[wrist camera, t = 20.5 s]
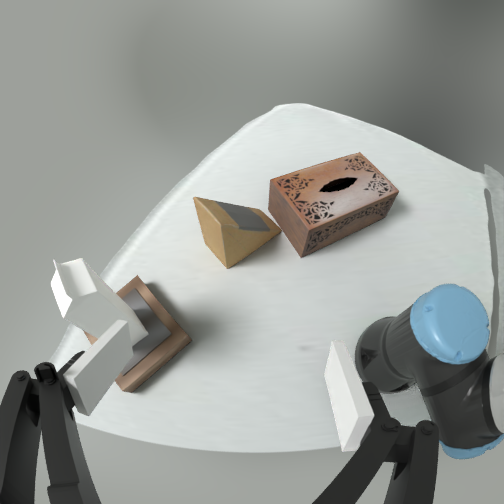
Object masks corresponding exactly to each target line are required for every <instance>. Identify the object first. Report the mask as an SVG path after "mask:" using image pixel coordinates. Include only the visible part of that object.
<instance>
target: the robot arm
mask: <svg viewBox="0 0 504 504" xmlns="http://www.w3.org/2000/svg"><path fill="white" fill-rule="evenodd" d="M488 325H489V319H488V316H487V313H486V310H485V308H484V306H483V305H482V303H481V302H480V300H479V299H478V298H477V297H476V295H474V294H473V293H472V292H471V291H470V290H468V289H466V288H465V287H459V286H458V285H456V284H443V285H439V286H437V287H435V288H433V289H432V290H431V291H429V292H428V293H425V294H423V295H422V296H420V297H419V298H418V299H417V300H416V302H415V303H414V304H413V305H412V306H410V307H409V308H408V309H407V310H405V311H404V312H403V313H401V314H400V315H398V316H397V317H385V318H382V319H380V320H378V321H376V322H374V323H373V324H372V325H370V326H369V327H368V328H367V329H366V330H365V331H364V332H363V333H362V335H361V336H360V338H359V340H358V343H357V346H356V350H355V364H356V368H357V371H358V373H357V371H356V368H355V366H354V364H353V361H352V359H351V356H350V354H349V352H348V349H347V347H346V345H345V342H344V341H335V340H332V343H331V347H330V352H329V356H328V361H327V365H326V369H325V373H324V376H325V380H326V384H327V388H328V392H329V396H330V401H331V405H332V409H333V413H334V417H335V422H336V426H337V430H338V435H339V439H340V444H341V448H342V451H343V452H344V451H354V450H357V449H358V447H359V445H361V446H360V447H359V449H358V450H357V451H356V453H355V454H354V455H353V457H352V458H351V459H350V461H349V462H348V463H347V464H346V466H345V467H344V468H343V469H342V471H341V472H340V473H339V474H338V475H337V477H336V478H335V479H334V480H333V481H332V483H331V484H330V485H329V486H328V487H327V488H326V489H325V490H324V491H323V493H322V494H321V495H320V496H319V497H318V498H317V499H316V500H315V501H314V502H313V503H312V504H355V503H356V502H357V500H358V499H359V497H360V496H361V495H362V493H363V492H364V490H365V489H366V488H367V486H368V485H369V483H370V482H371V480H372V479H373V477H374V476H375V474H376V473H377V471H378V470H379V468H380V466H381V465H382V463H383V462H395V464H394V468H393V472H392V476H391V480H390V484H389V487H388V491H387V495H386V498H385V501H384V504H432V503H433V498H434V491H435V483H436V475H437V464H438V463H437V462H438V447H439V442H440V444H441V445H442V448H443V450H444V452H445V453H446V454H447V455H448V456H450V457H452V458H455V459H469V458H474V457H476V456H480V455H482V454H484V453H485V451H486V450H488V449H489V450H491V449H492V448H494V447H495V446H496V445H498V444H499V443H500V442H501V441H502V440H503V438H504V353H503V354H500V355H498V356H496V357H494V358H493V359H489V356H488V354H487V352H486V349H485V347H486V345H487V343H488V340H489V334H490V331H489V329H488V328H487V327H488ZM132 356H133V349H132V344H131V338H130V332H129V325H128V321H124V320H119V319H118V320H117V321H116V322H115V323H114V324H113V325H112V326H111V327H110V328H109V329H108V330H107V331H106V332H105V333H104V334H103V335H102V336H101V337H100V338H99V339H98V340H97V341H96V342H95V343H94V344H93V345H92V346H91V347H90V348H89V349H88V350H87V351H86V352H85V351H81V352H79V353H77V354H75V355H74V356H73V357H72V358H71V360H69V361H68V362H67V363H66V364H65V365H64V366H63V367H62V368H61V369H60V370H59V371H58V372H56V369H55V367H54V365H53V364H52V363H49V362H44V363H40V364H39V365H37V366H36V367H35V369H34V371H35V374H36V377H37V379H31V377H30V375H29V373H28V372H27V371H24V370H23V371H17V372H16V373H14V374H13V376H12V377H11V380H10V382H9V385H8V387H7V390H6V392H5V395H4V397H3V400H2V403H1V405H0V504H34V494H35V476H36V465H37V456H38V449H39V442H40V435H41V430H42V438H43V445H44V452H45V459H46V464H47V469H48V474H49V479H50V484H51V485H50V486H48V487H47V490H48V496H49V499H50V503H51V504H101V502H100V499H99V497H98V494H97V492H96V489H95V487H94V484H93V481H92V479H91V476H90V472H89V469H88V466H87V463H86V460H85V457H84V453H83V450H82V446H81V442H80V438H79V434H78V430H77V426H76V422H75V417H74V412H73V410H72V408H73V407H74V405H75V406H76V408H77V410H78V412H79V413H82V414H84V415H87V416H89V415H90V414H91V413H92V411H93V410H94V408H95V407H96V406H97V404H98V403H99V401H100V400H101V399H102V397H103V396H104V394H105V393H106V392H107V390H108V389H109V388H110V386H111V385H112V383H113V382H114V381H115V379H116V378H117V377H118V375H119V374H120V373H121V371H122V370H123V369H124V367H125V366H126V364H127V363H128V362H129V360H130V359H131V358H132ZM358 374H359V375H358ZM359 376H360V378H361V379H362V381H363V382H361V380H360V378H359ZM415 382H417V384H418V387H419V389H420V391H421V394H422V397H423V399H424V402H425V404H426V407H427V409H428V412H429V415H430V417H431V420H432V421H429V420H423V421H420V422H419V423H418V424H417V425H416V427H410V426H402V425H401V424H400V423H399V421H398V420H396V419H394V418H391V417H390V415H389V412H388V410H387V408H386V406H385V403H384V401H383V400H382V397H381V395H380V393H384V394H391V393H397V392H401V391H403V390H405V389H407V388H409V387H410V386H412V385H413V384H414V383H415Z"/></svg>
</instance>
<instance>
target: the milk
mask: <svg viewBox="0 0 504 504" xmlns="http://www.w3.org/2000/svg"><path fill="white" fill-rule="evenodd" d="M53 261H54V264H55V267H56V272H55V274H54V277H53V279H52V282H51V286H52V289H53V292H54V295H55V298H56V300H57V303H58V306H59V308H60V311H61V313H62V316H63V318H64V319H66V320H67V321H69V322H70V323H72V324H74V325H75V326H77V327H79V328H80V329H82V330H84V331H85V332H87V333H89V334H91V335H92V336H94V337H96V338H98V339H99V338H100V337H101V336H102V335H103V334H104V333H105V332H106V331H107V330H108V329H109V328H110V327H111V326H112V325H113V324H114V323H115V322H116V321H117V320H118V319H119V320H124V321H128V325H129V332H130V338H131V344H132V346H134V345H135V344H136V343H138V342H139V341H140V340H142V339H143V338H144V337H146V336H147V335H148V332H147V331H146V329H145V328H144V326H143V325H142V323H141V322H140V320H139V318H138V317H137V315H136V314H135V312H134V311H133V309H132V308H131V307H130V306H128V305H127V304H126V303H125V302H124V301H123V300H122V299H121V298H120V297H119V296H118V295H117V294H116V293H115V292H114V291H113V290H112V289H111V288H110V287H109V286H108V285H107V284H106V283H105V282H104V281H103V280H102V279H101V278H100V277H99V276H98V275H97V274H96V273H95V272H94V271H93V270H92V268H90V266H89V265H88V264H87V263H86V262H85V261H84V260H83V259H82V258H80V259H77V260H73V261H70V262H66V263H62V264H59V263H57V261H55V260H53Z"/></svg>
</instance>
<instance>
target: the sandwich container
mask: <svg viewBox="0 0 504 504" xmlns="http://www.w3.org/2000/svg"><path fill="white" fill-rule="evenodd" d="M193 199H194V203H195V207H196V211H197V215H198V219H199V222H200V226H201V230H202V234H203V237H204V241H205V244H206V245H207V246H208V247H209V249H210V250H211V251H212V252H213V253H214V254H215V256H216V257H217V258H218V259H219V260H220V261H221V262H222V264H223V265H224V266H225V267H226V268H227V269H229V268H230V267H232V266H233V265H235V264H236V263H238V262H239V261H241V260H242V259H244V258H245V257H247V256H248V255H250V254H251V253H253V252H254V251H255V250H257V249H258V248H259V247H261V246H262V245H263V244H265V243H266V242H267V241H269V240H270V239H272V238H273V237H274V236H276V235H277V234H278V233H280V232H281V231H282V230H281V229H280V228H279V227H278V226H277V225H276V224H275V223H274V222H273V221H272V220H271V219H270V218H269V217H268V216H267V215H265V214H264V213H263V212H262V211H261V210H259V209H255V208H249V207H244V206H238V205H233V204H228V203H223V202H218V201H213V200H208V199H203V198H199V197H194V198H193Z"/></svg>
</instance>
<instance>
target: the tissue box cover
mask: <svg viewBox="0 0 504 504" xmlns="http://www.w3.org/2000/svg"><path fill="white" fill-rule="evenodd" d="M349 180H352V182H353V183H354V184H353V185H350V186H349V188H346V189H345V190H340V191H334V192H330V193H329V192H319V191H321V190H324V189H327V188H329V187H332V186H335V185H338V184H341V183H343V182H346V181H349ZM398 192H399V190H398V189H397V188H396V187H395V186H394V185H393V184H392V183H391V182H390V181H389V180H388V179H387V178H386V177H385V176H384V175H383V174H382V173H381V172H380V171H379V170H378V169H377V168H376V167H375V166H374V165H373V164H372V163H371V162H370V161H369V160H368V159H367V158H366V157H364V156H363V155H362V154H361V153H360V152H359V153H356V154H352V155H349V156H345V157H342V158H338V159H335V160H331V161H328V162H324V163H321V164H318V165H315V166H311V167H308V168H305V169H302V170H299V171H295V172H292V173H289V174H286V175H283V176H280V177H277V178H274V179H271V180H270V190H269V206H268V210H269V212H270V213H271V215H272V216H273V217H274V219H275V220H276V222H277V223H278V225H279V226H280V228H281V229H282V230H283V232H284V233H285V235H286V236H287V238H288V239H289V241H290V242H291V244H292V245H293V247H294V248H295V250H296V251H297V253H298V254H299V256H300V257H301V258H302V257H304V256H306V255H308V254H310V253H313V252H315V251H317V250H319V249H321V248H323V247H325V246H327V245H329V244H332V243H334V242H336V241H338V240H340V239H342V238H344V237H346V236H348V235H350V234H352V233H354V232H356V231H358V230H361V229H363V228H365V227H367V226H369V225H371V224H373V223H375V222H377V221H379V220H381V219H383V218H385V216H386V215H387V213H388V211H389V209H390V207H391V206H392V204H393V202H394V200H395V198H396V196H397V194H398Z"/></svg>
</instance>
